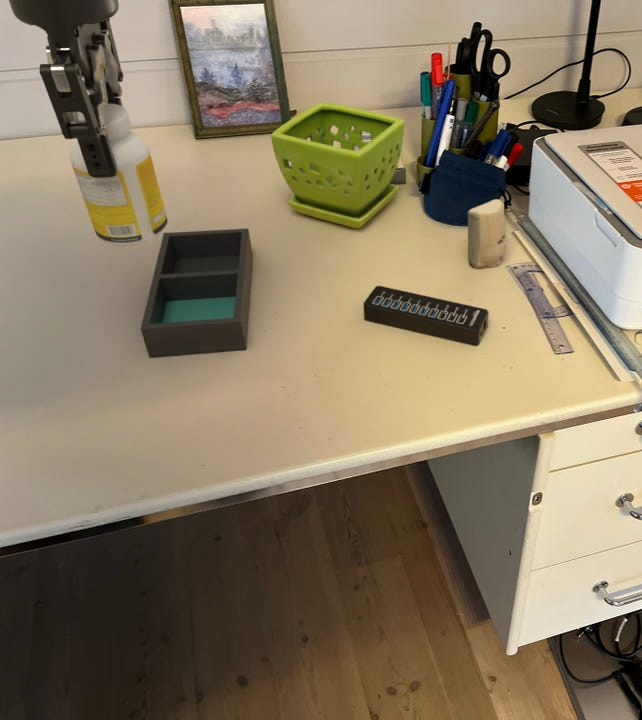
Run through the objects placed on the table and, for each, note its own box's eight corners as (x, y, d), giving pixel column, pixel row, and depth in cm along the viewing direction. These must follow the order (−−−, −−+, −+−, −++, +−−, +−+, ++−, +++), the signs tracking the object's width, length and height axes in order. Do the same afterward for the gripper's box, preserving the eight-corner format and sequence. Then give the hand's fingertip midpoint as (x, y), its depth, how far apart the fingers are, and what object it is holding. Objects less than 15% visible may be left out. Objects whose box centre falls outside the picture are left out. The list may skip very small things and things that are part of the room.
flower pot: (364, 241, 104) (359, 155, 96) (278, 218, 107) (265, 133, 99) (409, 197, 114) (407, 116, 106) (328, 178, 117) (321, 98, 109)
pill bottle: (163, 209, 75) (133, 94, 67) (174, 241, 71) (144, 123, 63) (93, 221, 73) (54, 104, 65) (100, 256, 68) (59, 134, 61)
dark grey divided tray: (246, 350, 85) (240, 321, 82) (149, 358, 83) (140, 328, 80) (252, 255, 100) (248, 228, 97) (170, 260, 98) (163, 232, 95)
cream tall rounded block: (471, 245, 104) (473, 193, 99) (508, 250, 104) (512, 198, 99) (463, 267, 100) (465, 214, 95) (502, 272, 99) (506, 219, 94)
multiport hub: (377, 299, 93) (376, 284, 92) (488, 324, 91) (489, 309, 89) (362, 319, 90) (361, 304, 89) (477, 346, 87) (478, 330, 86)
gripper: (19, -76, 60) (82, 124, 71) (-38, -26, 50) (46, 199, 61) (118, -75, 61) (165, 121, 72) (84, -26, 51) (145, 194, 62)
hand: (111, 156), depth 66 cm, fingers closed on pill bottle, 6 cm apart
